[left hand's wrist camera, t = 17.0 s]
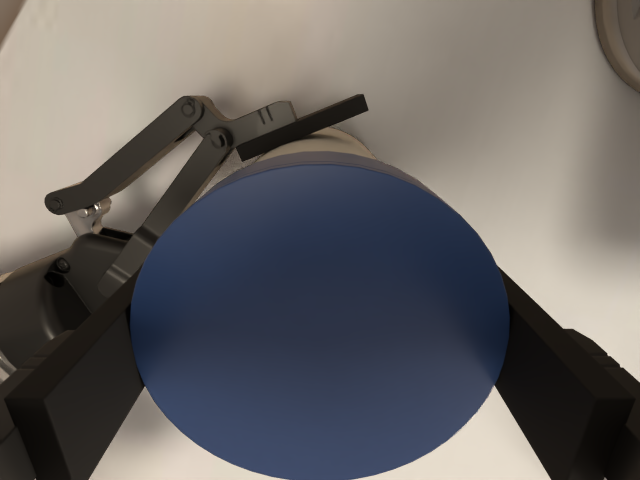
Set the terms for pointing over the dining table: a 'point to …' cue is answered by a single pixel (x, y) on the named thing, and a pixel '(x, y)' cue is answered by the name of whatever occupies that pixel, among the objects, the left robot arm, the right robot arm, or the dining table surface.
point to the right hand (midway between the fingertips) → (393, 194)
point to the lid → (319, 318)
